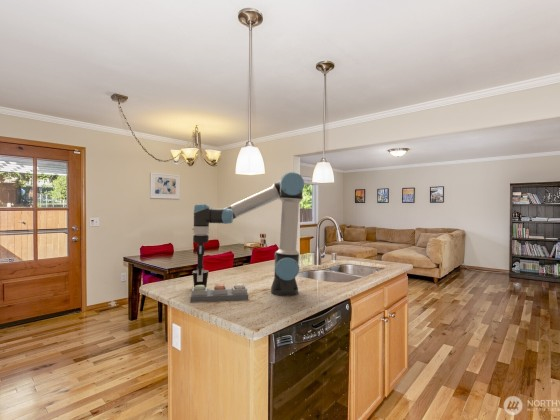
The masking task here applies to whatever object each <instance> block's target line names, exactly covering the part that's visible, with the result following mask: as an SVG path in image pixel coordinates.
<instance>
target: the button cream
mask: <svg viewBox="0 0 560 420" xmlns="http://www.w3.org/2000/svg"><path fill="white" fill-rule="evenodd" d="M234 286H235V289H244V286H245V284H244V283H235V284H234Z"/></svg>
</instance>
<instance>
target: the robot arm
mask: <svg viewBox="0 0 560 420" xmlns="http://www.w3.org/2000/svg"><path fill="white" fill-rule="evenodd" d="M304 189H305V181H304V179H303V176H302V175H300V173H298V172H294V171H291V172H287V173H285V174H283V175H282V176H281V178H280V179H279V180H278V181H276V182H274V183H273V184H272V186H270V187H268V188H265V189H263V190H261V191H260V192H257V193H255V194H252V195H250V196H248V197H246V198H244V199H242V200H239V201H236V202H235V203H232V204H230V205H228V206H227V207H224V208H212V207H210V205H209V204H207V203H206V204H204V203H201V204H200V203H196V204H195V205H194V206H193V207H194V208H193V227H191V230H192V231H193V232H192V233H193V238H192V242H193V243H196V244H197V245H196V255H197V267H195V269H196V270H197V282H203V270H204V269H205V266H204V264H203V263H204V255H205V245H204V244H206V243H209V234H210V232H209V231H210V224H225V225H226V224H227V225H228V224H233V221H234V220H235V219H237V218H239V217H240V216H243V215H245V214H247V213H250V212H252V211H255V210H256V209H258V208H260V207H263V206H265V205H268V204H270V203H272V202H274V201H277V200H279V201H280V202H282V203H281V215H280V216H281V217H280V232H279V233H280V234H279V235H280V236H279V248H278V250H276V251H274V271H273V272H274V273H273V274H274V276H273V277H274V278H273V281H272V285H271V288H270V292H271V294H273V295H276V296H286V295H290V296H295V295H298V294H299V287H298V284H297V280H296V277H297V276H298V274H299V273H300V265H299V262H300V261H299V258H300V252H299V251H298V250H297V244H298V243H297V242H298V240H297V239H298V225H299V223H298V222H299V206H300V203H301V201H303V191H304ZM294 294H295V295H294Z"/></svg>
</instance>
